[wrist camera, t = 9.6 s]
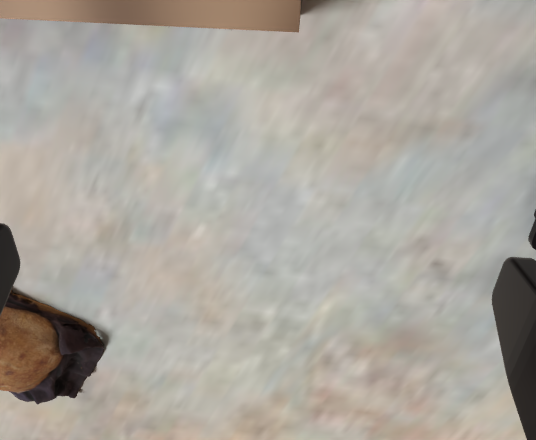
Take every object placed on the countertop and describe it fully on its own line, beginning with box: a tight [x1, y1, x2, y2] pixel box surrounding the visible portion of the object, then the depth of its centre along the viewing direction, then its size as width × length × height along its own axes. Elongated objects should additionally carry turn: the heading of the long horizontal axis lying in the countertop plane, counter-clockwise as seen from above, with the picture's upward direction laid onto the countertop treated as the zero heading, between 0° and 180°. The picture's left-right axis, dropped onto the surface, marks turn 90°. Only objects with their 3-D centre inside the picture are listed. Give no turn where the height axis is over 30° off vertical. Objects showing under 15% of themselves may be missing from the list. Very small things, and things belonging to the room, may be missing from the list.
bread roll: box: [0, 290, 104, 404], centre depth 30 cm, size 11×8×4 cm
